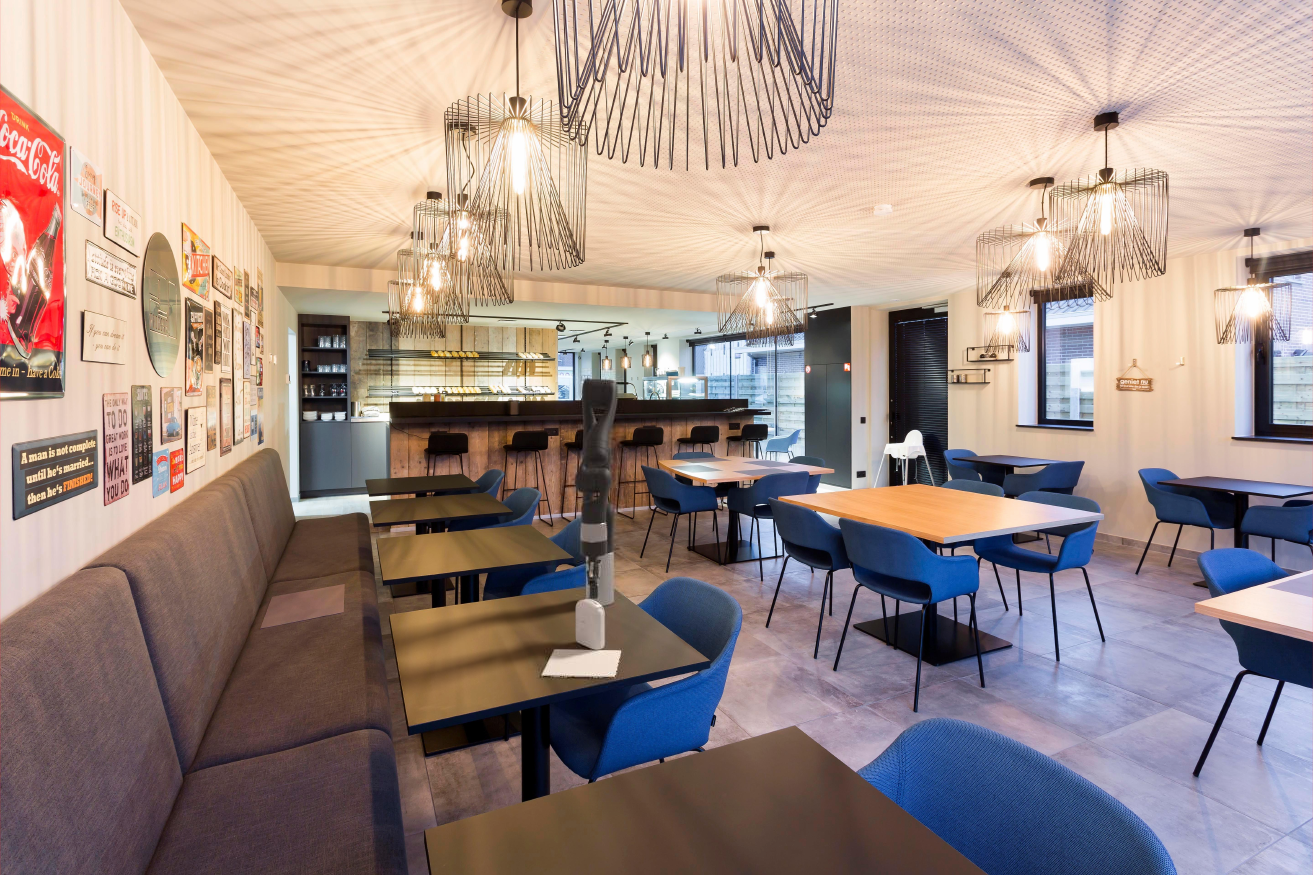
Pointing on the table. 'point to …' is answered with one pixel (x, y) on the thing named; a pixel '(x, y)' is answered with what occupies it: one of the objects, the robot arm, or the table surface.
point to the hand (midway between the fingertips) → (594, 597)
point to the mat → (582, 663)
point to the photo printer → (590, 624)
